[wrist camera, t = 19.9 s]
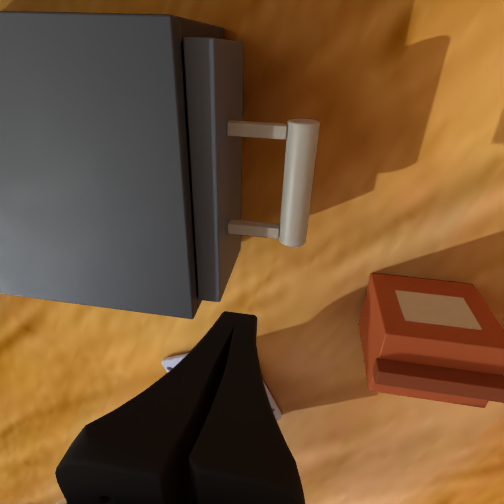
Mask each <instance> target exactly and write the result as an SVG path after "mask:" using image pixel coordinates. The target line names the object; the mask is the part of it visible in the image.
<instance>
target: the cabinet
mask: <svg viewBox="0 0 504 504" xmlns="http://www.w3.org/2000/svg"><path fill="white" fill-rule="evenodd" d="M184 37H203V38H218V39H224V28H222V27H217V26H213V25H209V24H205V23H201V22H197V21H194V20H190V19H186V18H182V17H177V16H174V15H169V14H123V13H77V12H31V11H0V294H7V295H15V296H22V297H30V298H37V299H45V300H52V301H60V302H67V303H75V304H82V305H90V306H97V307H105V308H112V309H120V310H127V311H135V312H142V313H150V314H157V315H165V316H172V317H180V318H188V319H193V318H194V316H195V314H196V312H197V309H198V308H199V306H200V304H201V301H202V300H199V299H198V283H197V266H196V250H195V251H194V247H193V231H192V216H191V200H190V184H189V168H188V152H187V137H186V121H185V105H184V89H183V73H182V58H181V56H184V50H183V38H184Z"/></svg>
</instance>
